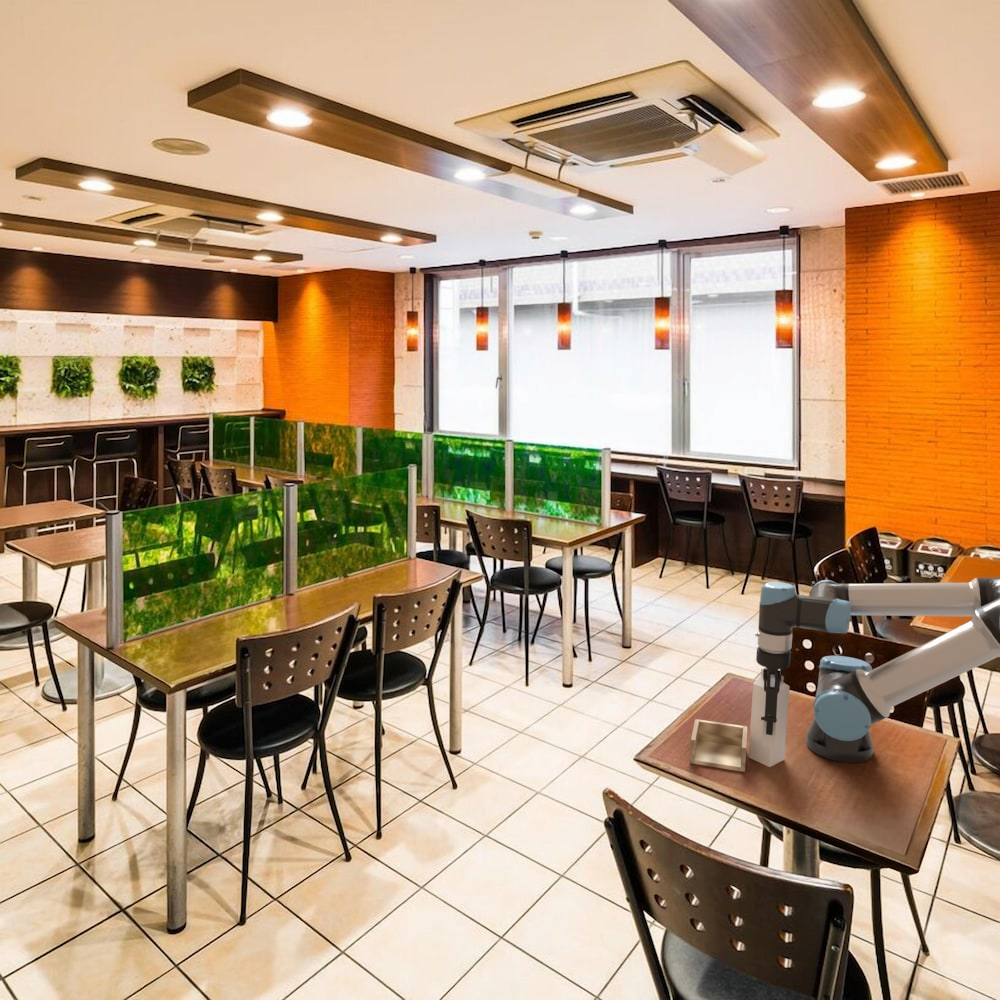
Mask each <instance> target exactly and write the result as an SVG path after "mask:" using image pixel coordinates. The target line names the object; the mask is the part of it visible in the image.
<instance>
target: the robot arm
mask: <svg viewBox="0 0 1000 1000" xmlns="http://www.w3.org/2000/svg"><path fill="white" fill-rule="evenodd" d="M760 591H761V592H760V599H759V611H758V614H759V615H758V626H757V627H758V632H755V634H754V635H755V637H756V638H757V647H756V658H755V660H756V661H755V662H756V663H757V664H758V665H759V666H761V667H765V668H763V669H764V670H763V680H764V691H765V692H766V700H765V716H764V717H761V720H764V722H763V736H762V746H767V747H774V745H775V730H776V721H777V719H776V713H777V695H778V693H779V688H780V682H781V675H782V670H783V669H787V668H789V667H790V665H791V649H792V644H793V628H797V629H798V628H800V629H807V630H814V631H819V632H825V633H829V634H835V633H836V634H847V633H848V632H849V631H850V624H851V623H850V620H851V616H894V617H896V616H899V617H900V616H901V617H904V616H906V617H914V616H915V617H916V616H917V617H925V616H926V617H972V619H971V620H969V621H968V622H965V623H964V624H961V625H959V626H958V627H955V628H953V629H951V630H950V631H947V632H946V633H944V634H942V635H940V636H937V637H935V638H933V639H932V640H929V641H928V642H926V643H924V644H922V645H919V646H917V647H915V648H914V649H911V650H910V651H907V652H906V653H903V654H902V655H899V656H898V657H895V658H893V659H891V660H890V661H887V662H886V663H883V664H881V665H880V666H878V667H875V668H872V666H871V664H870V663H868V662H866V661H864V660H862V659H859V658H855V657H850V656H844V655H827V656H826V655H825V656H823V657H822V658H821V659H820V661H819V662H820V663H819V666H818V668H819V672H818V680H817V688H816V692H815V693H816V694H815V697H814V702H813V706H812V707H813V715H814V717H813V719H812V721H811V723H810V725H809V728H808V730H807V731H806V732H807V733H806V738H805V739H806V740H805V743H806V746H807V747H808V748H809V750H811V751H812V752H813V753H815V754H816V755H818V756H820V757H822V758H825V759H829V760H832V761H836V762H841V763H848V764H852V763H853V764H855V763H862V762H867V761H869V760H870V759H871V758H872V757H873V752H874V744H873V740H872V736H871V733H870V728H871V726H873V725H874V724H876V723H878V722H880V721H883V720H884V719H887V718H889V717H890V714H891V709H892V708H893V707H896V706H897V705H899V704H902V703H904V702H905V701H908V700H910V699H911V698H913V697H916V696H918V695H920V694H922V693H924V692H927V691H928V690H931V689H933V688H935V687H937V686H939V685H942V684H944V683H946V682H948V681H950V680H951V679H954V678H956V677H958V676H960V675H962V674H965V673H967V672H969V671H971V670H973V669H975V668H977V667H979V666H981V665H984V664H986V663H988V662H990V661H993V660H994V659H996V658H1000V576H999V577H975V578H973V579H972V580H970V581H969V582H901V583H898V582H897V583H896V582H894V583H893V582H891V583H890V582H887V583H837V582H835V581H833V580H830V579H824V580H819V581H817V582H816V583H815V584H814V585H813V586H812V588H811V589H810V592H809V595H804V594H803V595H802V594H797V592H796V587H795V586H794V585H792V584H790V583H785V582H783V581H769V582H767V583H764V584H763V585H762V586H761V590H760ZM781 669H782V670H781ZM766 682H767V686H766Z"/></svg>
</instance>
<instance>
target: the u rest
mask: <svg viewBox="0 0 1000 1000" xmlns="http://www.w3.org/2000/svg"><path fill="white" fill-rule="evenodd" d="M747 741H748V726H747V725H739V724H733V723H732V724H731V723H725V722H718V721H711V720H704V719H698V718H695V719H694V723H693V728H692V734H691V739H690V749H689V750H690V752H689V753H690V755H689V764H694V765H700V766H706V767H713V768H718V769H723V770H730V771H736V772H741V773H743V772H744V773H745V772H746V762H747V761H746V759H747V757H746V756H747V743H748V742H747Z"/></svg>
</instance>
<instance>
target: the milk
mask: <svg viewBox="0 0 1000 1000" xmlns="http://www.w3.org/2000/svg"><path fill="white" fill-rule="evenodd" d="M764 669H765V668H762V669H761V670H760V675H759V676H758V677H757V679H756V680H755V681H754V682H753V684H752V698H751V699H752V700H751V713H750V714H751V715H750V729H749V742H748V743H749V747H748V758H749V759H752V760H753V761H755V762H758V763H760V764H762V765H765V766H766V767H769V768H771V767H773V766H775V765H777V764H780V763H781V762H783V761H785V755H786V742H787V741H786V740H787V729H788V728H787V727H788V714H789V699H790V685H788V684H787V683H785V682H784V676H783V675H782V674H781V682H780V688H779V693H778V695H777V713H776V719H777V721H776V730H775V745H774V747H767V746H762V736H763V722H764V720H761V717H764V716H765V700H766V692H765V691H764V680H763V670H764ZM766 686H767V682H766Z"/></svg>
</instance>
